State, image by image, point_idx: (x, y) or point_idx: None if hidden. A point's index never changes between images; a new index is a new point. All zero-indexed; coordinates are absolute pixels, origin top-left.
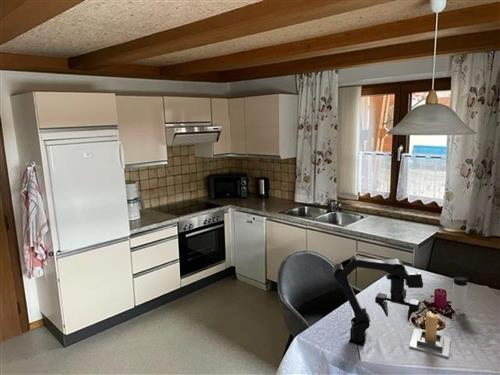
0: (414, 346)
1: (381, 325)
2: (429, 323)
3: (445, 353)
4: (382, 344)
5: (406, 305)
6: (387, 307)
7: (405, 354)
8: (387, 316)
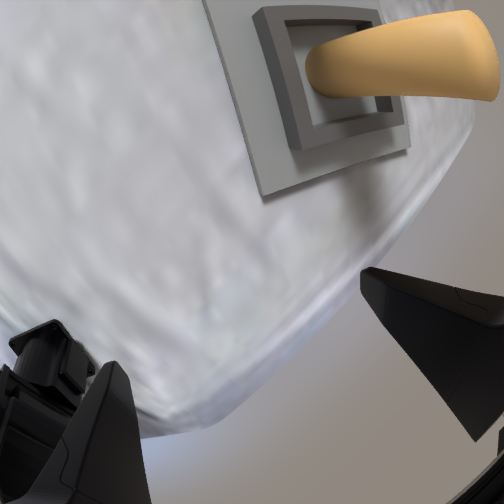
0: (287, 177)
1: (14, 116)
2: (441, 95)
3: (400, 131)
4: (138, 288)
5: (498, 455)
6: (87, 455)
7: (269, 263)
8: (128, 381)
